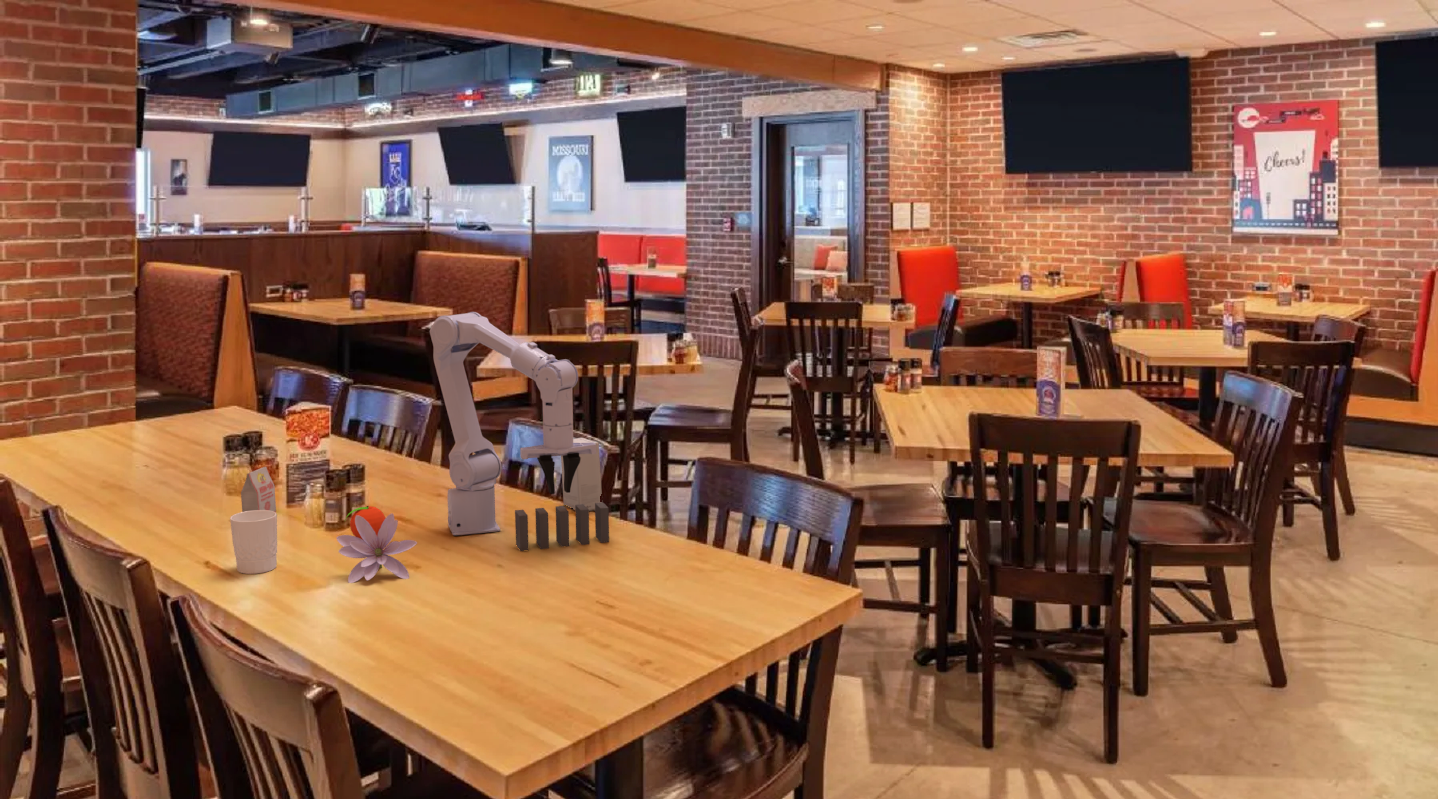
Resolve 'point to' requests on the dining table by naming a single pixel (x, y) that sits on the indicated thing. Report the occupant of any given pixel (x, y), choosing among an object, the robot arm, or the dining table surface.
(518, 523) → the tile
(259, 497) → the milk carton
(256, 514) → the white cup
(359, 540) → the water lily
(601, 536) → the tile
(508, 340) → the robot arm
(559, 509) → the tile
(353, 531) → the tomato
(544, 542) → the tile
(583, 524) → the tile
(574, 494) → the skincare box
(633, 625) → the dining table surface
